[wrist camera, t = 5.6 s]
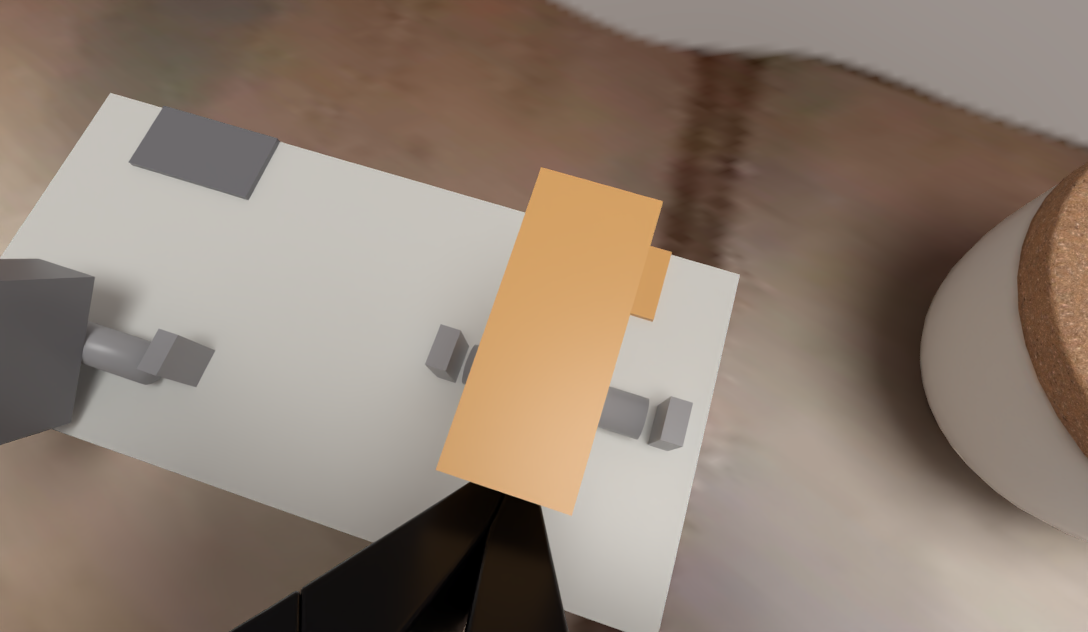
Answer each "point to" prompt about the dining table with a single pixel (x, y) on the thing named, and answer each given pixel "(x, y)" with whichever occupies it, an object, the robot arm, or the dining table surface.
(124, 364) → the charcoal rocker
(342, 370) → the switch console
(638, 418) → the orange rocker
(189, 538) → the dining table surface
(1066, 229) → the lidded jar
